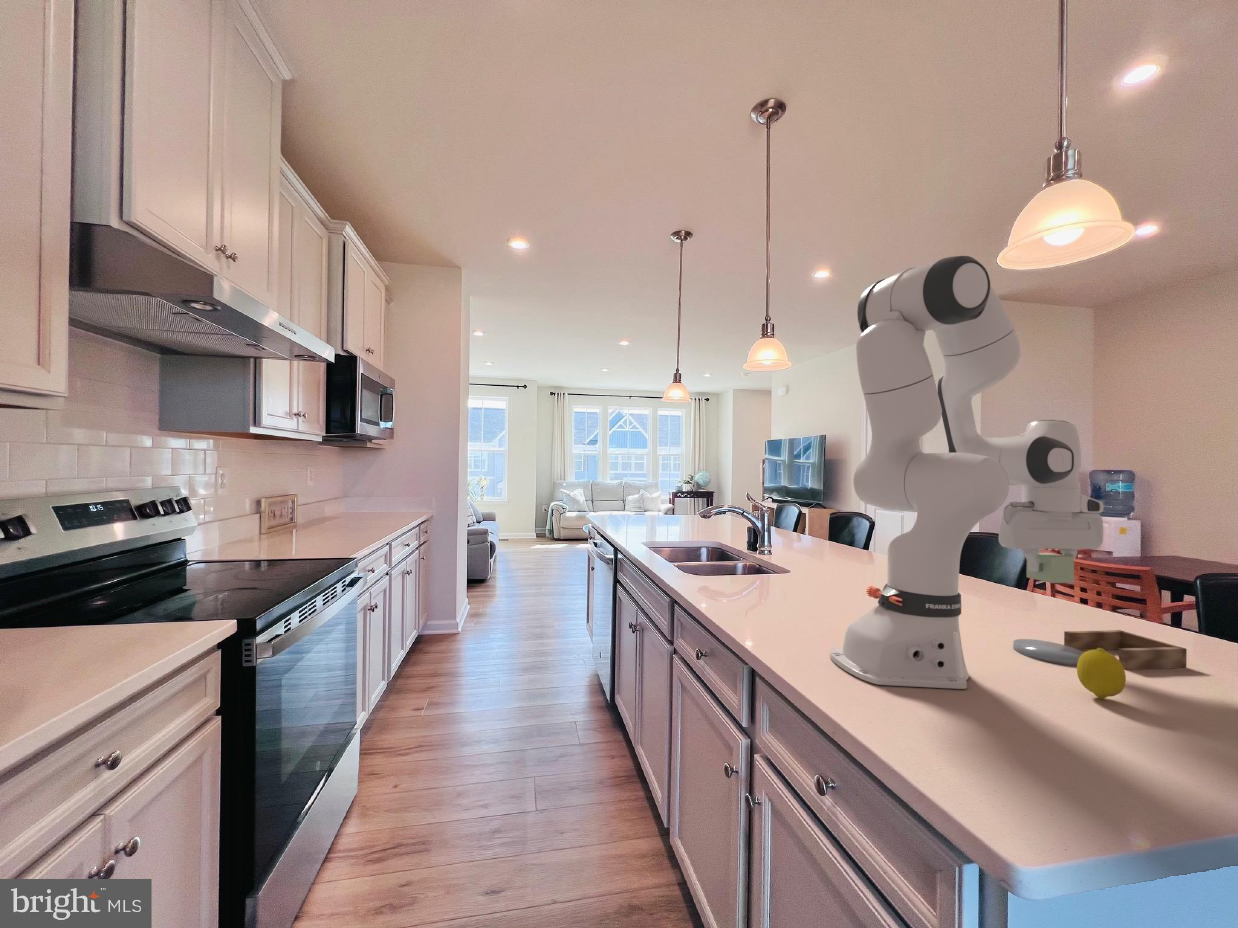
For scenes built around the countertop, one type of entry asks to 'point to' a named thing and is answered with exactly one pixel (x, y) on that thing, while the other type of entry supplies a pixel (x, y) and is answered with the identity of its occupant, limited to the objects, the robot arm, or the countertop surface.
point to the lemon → (1101, 673)
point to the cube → (1054, 568)
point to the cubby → (1129, 648)
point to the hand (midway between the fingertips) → (1049, 571)
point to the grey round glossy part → (1047, 651)
